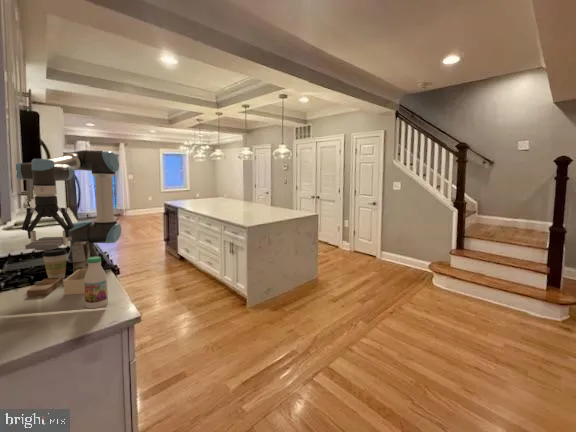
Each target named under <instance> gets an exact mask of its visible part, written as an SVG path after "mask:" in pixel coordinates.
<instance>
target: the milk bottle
mask: <svg viewBox="0 0 576 432" xmlns="http://www.w3.org/2000/svg"><path fill="white" fill-rule="evenodd" d="M87 262H88V270H87V272H86V274H85V278H84V288H85V294H84V300H85V301H84V302H85V307H86V308H87V309H88V308H89V309H88V310H95V309H94V308H100V307H104V306H105V305H107V304H108V303H109V296H108V295H109V293H108V292H109V291H108V281H107V279H108V278H107V275H106V272H105V270H104V268H103V266H102V258H101V256H98V257H90V258H88V259H87Z"/></svg>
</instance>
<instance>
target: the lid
mask: <svg viewBox="0 0 576 432" xmlns="http://www.w3.org/2000/svg"><path fill="white" fill-rule="evenodd" d="M70 240H72V237H71V236H70V237H68V242H70ZM61 246H64V242H63V236H43V237H41V238H38V239H36V241H33V242H32V243H31V242H30V243H28V244H25V246H24V247H25V250H34V251H44V250H52V249H53V248H61Z"/></svg>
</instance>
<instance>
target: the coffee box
mask: <svg viewBox="0 0 576 432" xmlns="http://www.w3.org/2000/svg"><path fill="white" fill-rule="evenodd" d="M72 258H73V263H72V268H73V273H74V272H75V271H77V270H78V269H88V262H87V259H88V258H90V248H89V241H81V242H75V243H74V244H73V245H72Z"/></svg>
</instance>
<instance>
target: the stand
mask: <svg viewBox="0 0 576 432" xmlns="http://www.w3.org/2000/svg"><path fill="white" fill-rule="evenodd" d="M63 281H64V278H63V277H61V278H48V277H46V278H43V279H42V280H41V281H39V282H37V283H36V284H35V285H33V286H32V287H30V288H28V289H27V291H26V294H27V298H29V297H30V298H32V297H48V296H49V295H50V294H52V293H53V292H54V291H55V290H56V289H57V288H59V287H60V286H61V285H62V284H64V283H63Z"/></svg>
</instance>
